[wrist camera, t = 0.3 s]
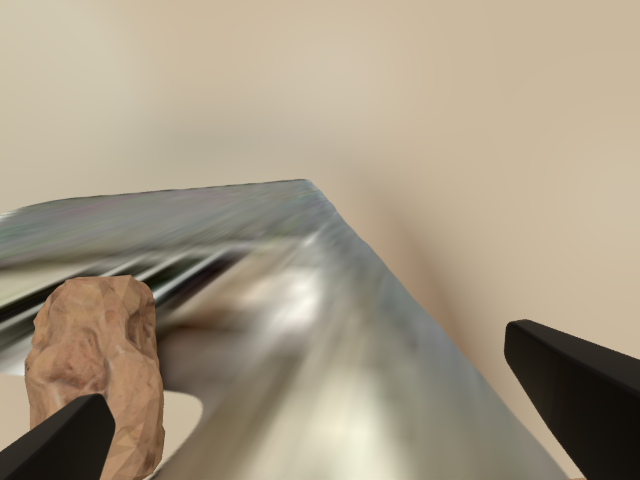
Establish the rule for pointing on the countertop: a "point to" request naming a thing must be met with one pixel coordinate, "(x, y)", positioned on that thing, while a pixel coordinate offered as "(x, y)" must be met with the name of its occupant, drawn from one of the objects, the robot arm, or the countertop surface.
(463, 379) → the countertop surface
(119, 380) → the rock
